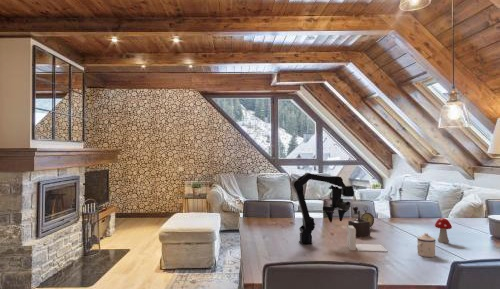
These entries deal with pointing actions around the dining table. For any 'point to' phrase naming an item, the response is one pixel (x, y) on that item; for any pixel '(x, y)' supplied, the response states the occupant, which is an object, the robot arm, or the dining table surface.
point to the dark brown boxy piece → (360, 225)
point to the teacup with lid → (426, 245)
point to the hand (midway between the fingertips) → (335, 221)
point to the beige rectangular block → (351, 237)
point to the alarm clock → (367, 217)
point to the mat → (370, 248)
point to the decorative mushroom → (443, 230)
